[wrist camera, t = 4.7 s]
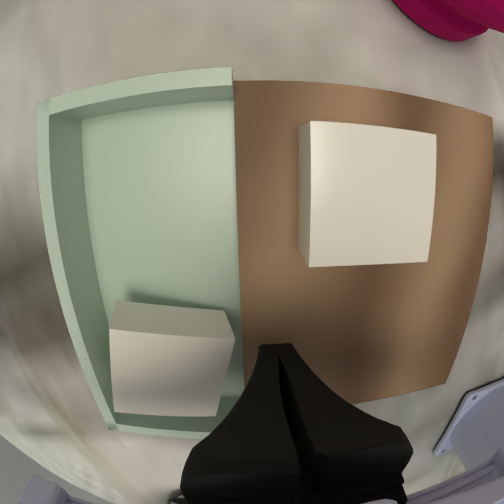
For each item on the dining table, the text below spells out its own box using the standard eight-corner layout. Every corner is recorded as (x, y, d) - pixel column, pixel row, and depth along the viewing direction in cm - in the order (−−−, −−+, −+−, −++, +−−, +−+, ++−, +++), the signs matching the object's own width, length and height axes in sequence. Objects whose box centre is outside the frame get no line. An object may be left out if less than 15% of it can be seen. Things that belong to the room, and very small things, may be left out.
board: (477, 118, 11) (492, 117, 10) (436, 371, 15) (445, 383, 14) (234, 88, 11) (233, 81, 10) (245, 397, 15) (245, 413, 14)
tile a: (224, 310, 13) (235, 338, 11) (208, 386, 14) (215, 416, 12) (115, 299, 11) (109, 328, 9) (116, 380, 12) (114, 411, 11)
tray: (234, 88, 11) (231, 67, 8) (245, 397, 15) (246, 439, 12) (76, 110, 11) (37, 103, 8) (124, 392, 15) (109, 429, 12)
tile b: (408, 136, 10) (436, 134, 8) (402, 245, 12) (427, 261, 10) (298, 126, 10) (310, 120, 8) (298, 248, 11) (308, 267, 10)
